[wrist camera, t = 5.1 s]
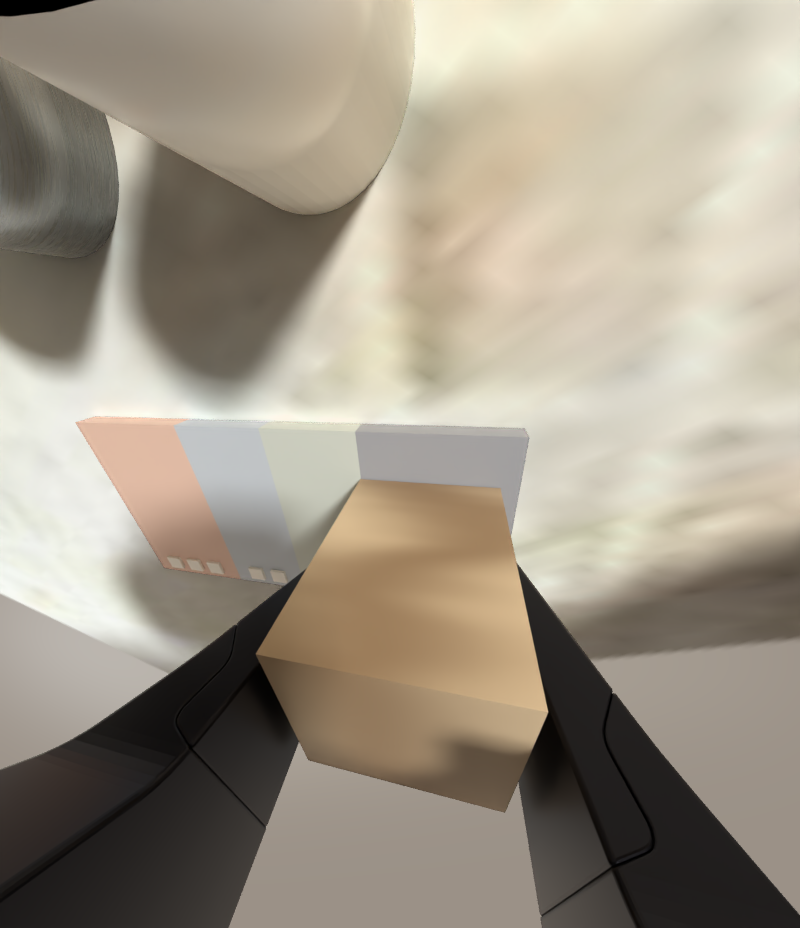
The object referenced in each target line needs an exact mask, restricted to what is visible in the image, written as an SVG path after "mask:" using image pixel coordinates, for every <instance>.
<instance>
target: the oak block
mask: <svg viewBox="0 0 800 928" xmlns="http://www.w3.org/2000/svg"><path fill="white" fill-rule="evenodd" d="M256 656H257V658H258V660H259V662H260V664H261V666H262V668H263V670H264V672H265V674H266V676H267V678H268V680H269V682H270V684H271V686H272V688H273V690H274V692H275V694H276V696H277V698H278V700H279V702H280V704H281V706H282V708H283V710H284V712H285V714H286V716H287V718H288V720H289V722H290V724H291V726H292V728H293V730H294V732H295V734H296V736H297V738H298V740H299V742H300V744H301V746H302V748H303V750H304V752H305V754H306V756H307V758H308V760H310V761H314V762H317V763H321V764H325V765H328V766H332V767H336V768H340V769H344V770H347V771H351V772H355V773H358V774H362V775H366V776H370V777H373V778H377V779H381V780H385V781H388V782H392V783H396V784H400V785H403V786H407V787H411V788H415V789H418V790H422V791H426V792H430V793H434V794H437V795H441V796H445V797H448V798H452V799H456V800H460V801H463V802H467V803H471V804H475V805H479V806H482V807H486V808H489V809H493V810H497V811H501V812H505V811H506V809H507V807H508V804H509V802H510V800H511V797H512V795H513V793H514V790H515V788H516V786H517V784H518V781H519V779H520V777H521V774H522V772H523V770H524V767H525V765H526V763H527V760H528V758H529V756H530V754H531V751H532V749H533V747H534V744H535V742H536V740H537V737H538V735H539V733H540V730H541V728H542V726H543V723H544V721H545V719H546V717H547V714H548V709H547V704H546V699H545V695H544V690H543V685H542V681H541V676H540V671H539V667H538V662H537V657H536V653H535V648H534V643H533V638H532V634H531V629H530V624H529V620H528V615H527V610H526V606H525V601H524V596H523V591H522V587H521V582H520V577H519V573H518V568H517V563H516V559H515V554H514V549H513V544H512V540H511V535H510V530H509V526H508V521H507V516H506V512H505V507H504V502H503V497H502V493H501V488H490V487H475V486H460V485H444V484H429V483H413V482H398V481H383V480H367V479H360V481H359V482H358V484H357V486H356V487H355V489H354V491H353V492H352V494H351V496H350V497H349V499H348V501H347V502H346V504H345V506H344V507H343V509H342V511H341V512H340V514H339V516H338V517H337V519H336V521H335V522H334V524H333V526H332V527H331V529H330V531H329V532H328V534H327V536H326V537H325V539H324V541H323V542H322V544H321V546H320V547H319V549H318V551H317V552H316V554H315V556H314V557H313V559H312V561H311V562H310V564H309V566H308V567H307V569H306V571H305V572H304V574H303V576H302V577H301V579H300V581H299V582H298V584H297V586H296V587H295V589H294V591H293V593H292V594H291V596H290V598H289V599H288V601H287V603H286V604H285V606H284V608H283V609H282V611H281V613H280V614H279V616H278V618H277V619H276V621H275V623H274V624H273V626H272V628H271V629H270V631H269V633H268V634H267V636H266V638H265V639H264V641H263V643H262V644H261V646H260V648H259V649H258V651H257V653H256Z"/></svg>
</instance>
